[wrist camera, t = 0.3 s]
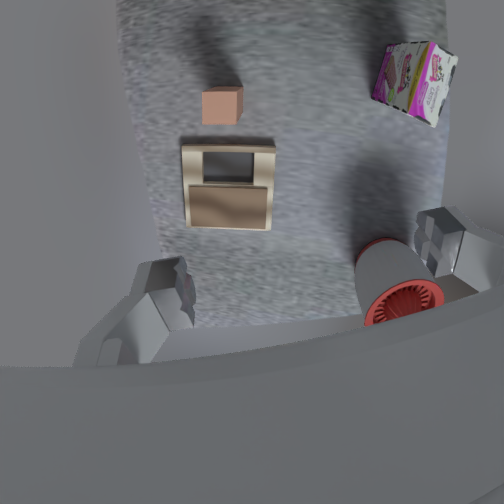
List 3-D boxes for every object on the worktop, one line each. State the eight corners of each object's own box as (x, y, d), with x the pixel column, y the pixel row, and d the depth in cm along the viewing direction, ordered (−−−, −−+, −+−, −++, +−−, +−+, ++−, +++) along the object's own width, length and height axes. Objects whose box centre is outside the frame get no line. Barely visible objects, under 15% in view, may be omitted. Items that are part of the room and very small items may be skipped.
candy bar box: (385, 43, 40) (430, 38, 27) (410, 54, 41) (460, 56, 27) (368, 99, 46) (406, 114, 33) (393, 109, 47) (437, 129, 33)
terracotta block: (215, 86, 47) (202, 91, 37) (243, 86, 47) (236, 91, 37) (215, 111, 49) (202, 124, 39) (242, 112, 49) (236, 124, 39)
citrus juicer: (377, 302, 71) (400, 368, 54) (331, 262, 65) (350, 334, 48) (428, 261, 64) (465, 323, 47) (387, 213, 58) (427, 275, 41)
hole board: (183, 144, 52) (181, 146, 51) (275, 145, 52) (275, 148, 51) (188, 223, 61) (186, 228, 60) (270, 227, 61) (270, 231, 59)
